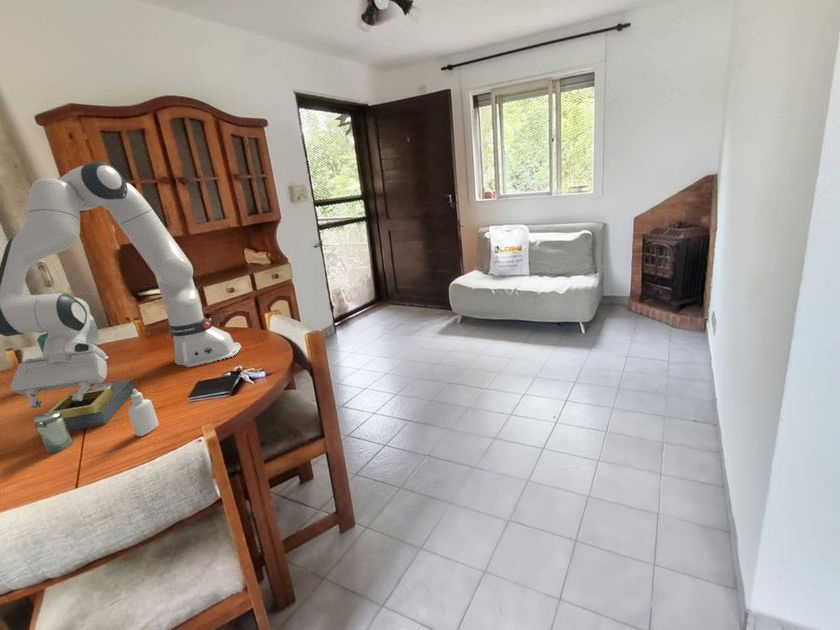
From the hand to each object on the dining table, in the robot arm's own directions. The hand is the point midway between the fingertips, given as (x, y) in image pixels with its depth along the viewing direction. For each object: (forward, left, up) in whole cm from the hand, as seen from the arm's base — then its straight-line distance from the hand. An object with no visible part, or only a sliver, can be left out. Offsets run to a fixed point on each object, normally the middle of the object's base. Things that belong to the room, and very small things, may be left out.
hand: (56, 404), depth 107 cm
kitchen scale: (-1, -13, -9) cm, 16 cm away
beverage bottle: (+22, -45, -10) cm, 51 cm away
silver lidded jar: (-1, +5, -9) cm, 11 cm away
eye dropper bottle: (-21, +5, -10) cm, 23 cm away
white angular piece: (+20, -64, -10) cm, 68 cm away
